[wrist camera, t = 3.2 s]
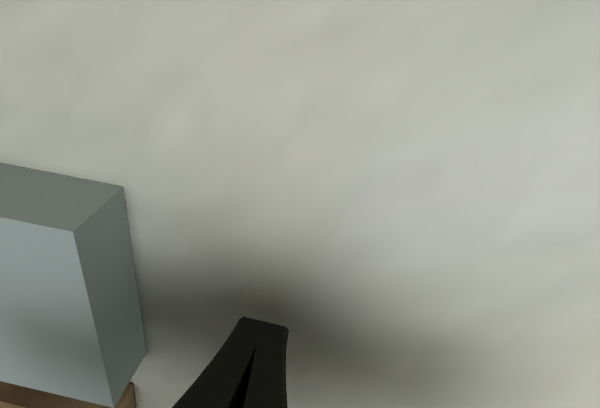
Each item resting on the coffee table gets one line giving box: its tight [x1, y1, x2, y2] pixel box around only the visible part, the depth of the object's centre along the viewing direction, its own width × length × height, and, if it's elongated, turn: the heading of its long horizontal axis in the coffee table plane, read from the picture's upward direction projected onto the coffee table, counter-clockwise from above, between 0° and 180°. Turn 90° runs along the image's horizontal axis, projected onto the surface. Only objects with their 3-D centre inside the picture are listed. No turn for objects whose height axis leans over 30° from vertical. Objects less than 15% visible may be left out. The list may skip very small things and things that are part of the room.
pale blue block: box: [0, 163, 146, 408], centre depth 12 cm, size 6×7×2 cm
